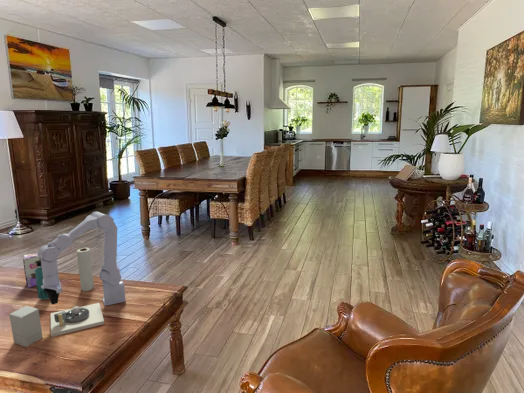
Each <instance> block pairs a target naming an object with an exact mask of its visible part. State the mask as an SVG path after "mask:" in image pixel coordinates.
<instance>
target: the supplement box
mask: <svg viewBox="0 0 524 393" xmlns="http://www.w3.org/2000/svg"><path fill="white" fill-rule="evenodd" d="M40 318H41V317H40V310H39V308H35V307H32V306H28V305H25V306H23V307H20V308H18V309H17V310H15V311H13V312H11V313H9V322H10V327H11V332H12V333H11V334H12V339H13V344H16V345H19V346H22V347H25V348H26V347H28V346H30V345H32V344H33V343H36V342H37V341H39V340H41V339H42V338H43V331H42V325H41V319H40Z"/></svg>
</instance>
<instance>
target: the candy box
mask: <svg viewBox="0 0 524 393" xmlns="http://www.w3.org/2000/svg"><path fill="white" fill-rule="evenodd" d="M37 253H38V252H36V253H30V254H29V253H28V254H23V257H22V261H23V270H24V275H25V276H24V277H25V284H26V288H27V289H28V288H29V289H30V288H34V287H37V284H36V275H35V270H36V269H37V268H38V267H40V266H37V261H38V260H41V258H40V257H38V255H37Z"/></svg>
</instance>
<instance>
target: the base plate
mask: <svg viewBox="0 0 524 393" xmlns="http://www.w3.org/2000/svg"><path fill="white" fill-rule="evenodd" d="M79 308H86V309H88V310H89V316H88V317H87V318H86V319H84V320H82V321H79V322H73V323H69V322H66V321H64V320H63V318H62V314H59V315H58V317H59V322H58V323H57V322H55V317H54V315H55V314H57V313H60V312H63V311H65V312H66V313H67V312H68V311H70V310H73V314H74V315H77V314H79ZM101 325H105V320H104V316H103V312H102V308H101V304H100V302H97V303H92V304H87V305H84V306H76V305H75V306H73V307H72V308H69V309H63V310H60V311H56V312H51V313H50V336H51V338H52V337H56V336H60V335H64V334H69V333H73V332H76V331H81V330H85V329H90V328H94V327H98V326H101Z"/></svg>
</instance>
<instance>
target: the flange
mask: <svg viewBox="0 0 524 393" xmlns="http://www.w3.org/2000/svg"><path fill="white" fill-rule="evenodd" d="M62 311H63V310H62ZM59 314H62V318H63V320H64V321H66V322H69V323H73V322H79V321H82V320H84V319H86V318H87V317H88V316H89V310H88V309H86V308H79V314H77V315H74V314H73V310H70V311H68V312H67V313H66V312H65V311H63V312H60V313H57V314H55V315H54V317H55V322H57V323H58V322H59V317H58V315H59Z"/></svg>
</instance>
